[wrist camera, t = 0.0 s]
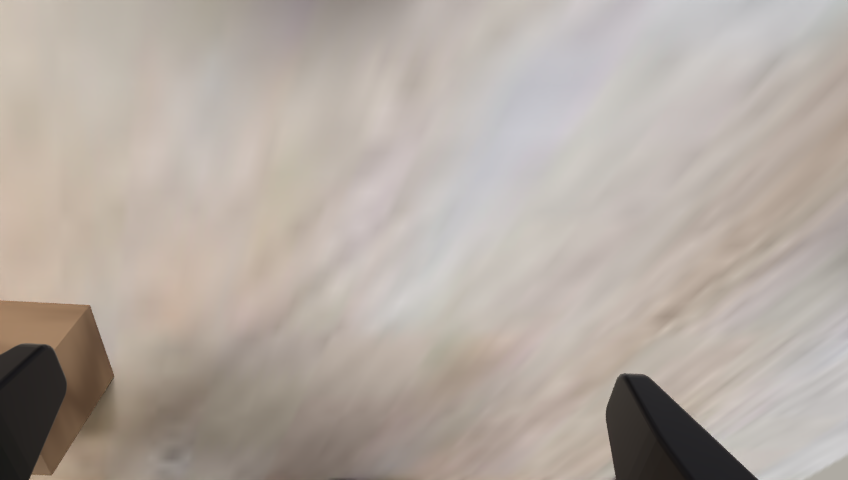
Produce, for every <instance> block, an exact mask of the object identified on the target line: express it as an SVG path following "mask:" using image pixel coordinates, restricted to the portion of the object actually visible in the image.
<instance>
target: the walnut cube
mask: <svg viewBox="0 0 848 480" xmlns="http://www.w3.org/2000/svg"><path fill="white" fill-rule="evenodd" d="M23 343H34V344H47V345H50V346H51V347H52V348H53V349H54V350H55V353H56V355H57V357H58V360H59V362H60V365H61V367H62V370H63V372H64V374H65V377H66V380H67V391H66V395H65V398H64V400H63V402H62V405H61V407H60V409H59V412H58V414H57V416H56V419H55V421H54V423H53V426H52V428H51V430H50V433H49V435H48V437H47V439H46V442H45V444H44V446H43V449H42V451H41V453H40V456H39V458H38V460H37V463H36V465H35V467H34V470H33V472H32V474H31V475H52V474H53V473H54V471H55V469H56V468H57V466H58V465H59V463H60V461H61V460H62V458H63V457H64V455H65V453H66V452H67V450H68V449H69V447H70V446H71V444H72V442H73V441H74V439H75V438H76V436H77V434H78V433H79V431H80V430H81V428H82V427H83V425H84V423H85V422H86V420H87V419H88V417H89V415H90V414H91V412H92V411H93V409H94V408H95V406H96V404H97V403H98V401H99V400H100V398H101V396H102V395H103V393H104V392H105V390H106V388H107V387H108V385H109V384H110V382H111V381H112V379H113V377H114V374H113V371H112V368H111V365H110V362H109V360H108V357H107V354H106V351H105V348H104V345H103V342H102V339H101V336H100V333H99V331H98V328H97V325H96V322H95V319H94V316H93V313H92V310H91V307H90V305H75V304H56V303H37V302H18V301H0V354H2V353H4V352H6V351H7V350H9V349H11V348H13V347H15V346H17V345H19V344H23Z"/></svg>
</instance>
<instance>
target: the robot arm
mask: <svg viewBox="0 0 848 480" xmlns="http://www.w3.org/2000/svg"><path fill="white" fill-rule="evenodd" d="M66 391H67V380H66V377H65V374H64V372H63V370H62V367H61V365H60V362H59V360H58V357H57V355H56V353H55V350H54V349H53V348H52V347H51V346H50V345H47V344H34V343H23V344H19V345H17V346H15V347H13V348H11V349H9V350H7V351H6V352H4V353H2V354H0V480H29V478H30V476H31V474H32V472H33V470H34V467H35V465H36V463H37V460H38V458H39V456H40V453H41V451H42V449H43V446H44V444H45V442H46V439H47V437H48V435H49V433H50V430H51V428H52V426H53V423H54V421H55V419H56V416H57V414H58V412H59V409H60V407H61V405H62V402H63V400H64V398H65V395H66ZM606 423H607V429H608V435H609V441H610V446H611V452H612V458H613V464H614V470H615V475H616V480H758V479H757V478H756V477H755V476H754V475H753V474H752V473H751V472H750V471H748V470H747V469H746V468H745V467H744V466H743V465H742V464H741V463H740V462H739V461H738V460H737V459H736V458H735V457H734V456H732V455H731V454H730V453H729V452H728V451H727V450H726V449H725V448H724V447H723V446H722V445H721V444H720V443H719V442H718V441H717V440H715V439H714V438H713V437H712V436H711V435H710V434H709V433H708V432H707V431H706V430H705V429H704V428H703V427H702V426H701V425H699V424H698V423H697V422H696V421H695V420H694V419H693V418H692V417H691V416H690V415H689V414H688V413H687V412H686V411H685V410H684V409H682V408H681V407H680V406H679V405H678V404H677V403H676V402H675V401H674V400H673V399H672V398H671V397H670V396H669V395H668V394H666V393H665V392H664V391H663V390H662V389H661V388H660V387H659V386H658V385H657V384H656V383H655V382H654V381H653V380H652V379H650V378H649V377H648V376H646V375H643V374H626V373H624V374H621V375H620V376H619V377H618V378H617V380H616V383H615V386H614V388H613V391H612V394H611V396H610V399H609V402H608V404H607V408H606Z"/></svg>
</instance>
